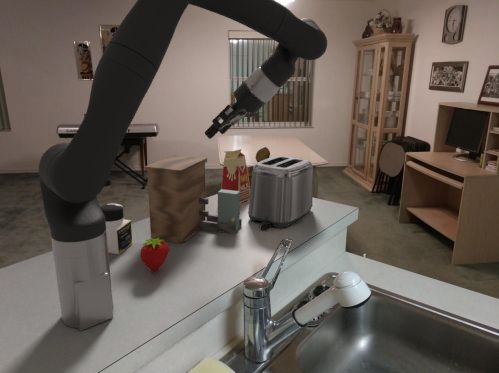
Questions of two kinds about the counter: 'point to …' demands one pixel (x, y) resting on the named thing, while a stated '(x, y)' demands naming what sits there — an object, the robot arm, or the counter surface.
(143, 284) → the counter surface
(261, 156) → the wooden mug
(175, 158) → the wooden cabinet
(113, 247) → the medicine bottle
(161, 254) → the strawberry
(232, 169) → the milk carton
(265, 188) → the toaster
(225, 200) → the gray-green rectangular block
